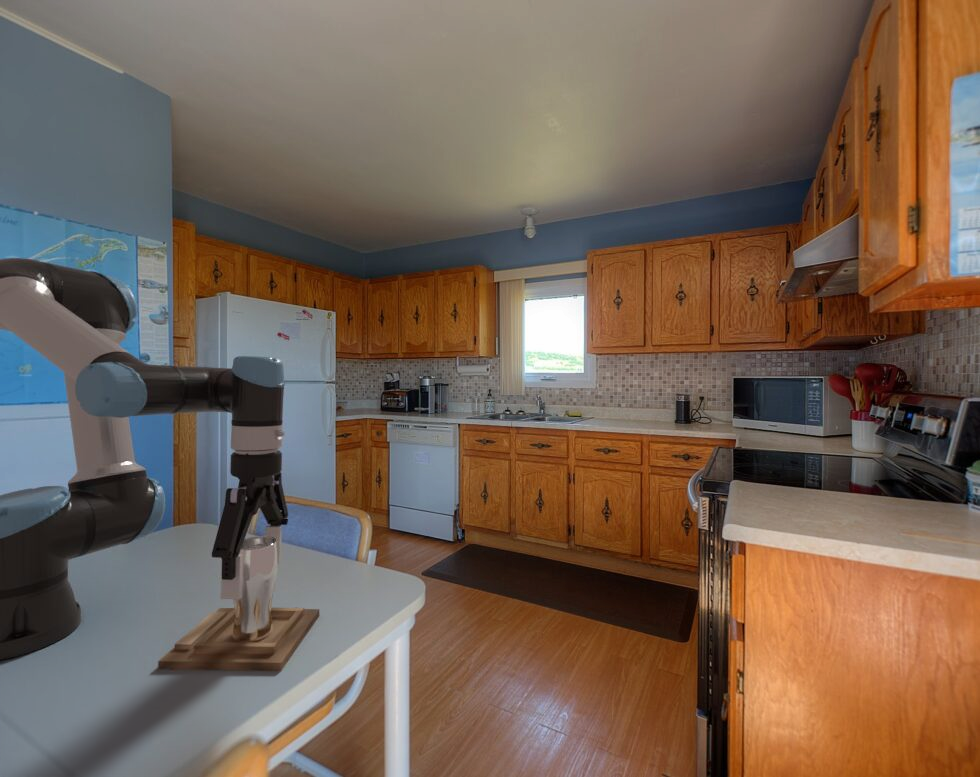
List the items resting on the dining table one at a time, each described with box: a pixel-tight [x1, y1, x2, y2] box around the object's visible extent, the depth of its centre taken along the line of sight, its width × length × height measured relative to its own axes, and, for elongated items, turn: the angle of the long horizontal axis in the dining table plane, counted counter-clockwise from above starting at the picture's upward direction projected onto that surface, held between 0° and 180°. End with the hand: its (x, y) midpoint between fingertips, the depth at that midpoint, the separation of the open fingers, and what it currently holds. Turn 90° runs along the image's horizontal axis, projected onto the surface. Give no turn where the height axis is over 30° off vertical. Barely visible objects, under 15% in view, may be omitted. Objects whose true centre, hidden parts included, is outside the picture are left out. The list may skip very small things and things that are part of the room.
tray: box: [157, 607, 320, 672], centre depth 76 cm, size 18×16×2 cm
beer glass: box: [232, 535, 278, 643], centre depth 75 cm, size 7×7×15 cm
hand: (253, 579), depth 76 cm, fingers open, 13 cm apart
